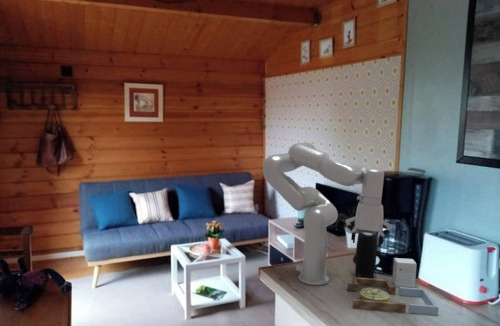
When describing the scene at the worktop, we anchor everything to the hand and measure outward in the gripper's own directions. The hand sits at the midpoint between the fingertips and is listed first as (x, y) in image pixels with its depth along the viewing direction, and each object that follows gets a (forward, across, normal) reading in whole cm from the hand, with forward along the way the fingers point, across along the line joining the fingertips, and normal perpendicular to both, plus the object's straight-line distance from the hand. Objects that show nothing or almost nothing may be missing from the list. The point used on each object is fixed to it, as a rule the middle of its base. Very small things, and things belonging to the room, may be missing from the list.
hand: (366, 243), depth 159 cm
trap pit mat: (+21, +4, +7) cm, 22 cm away
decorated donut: (+21, +5, -4) cm, 22 cm away
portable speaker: (+21, +1, +21) cm, 30 cm away
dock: (+20, +20, -1) cm, 28 cm away
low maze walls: (+21, +4, -1) cm, 21 cm away
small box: (+21, +17, +17) cm, 32 cm away
